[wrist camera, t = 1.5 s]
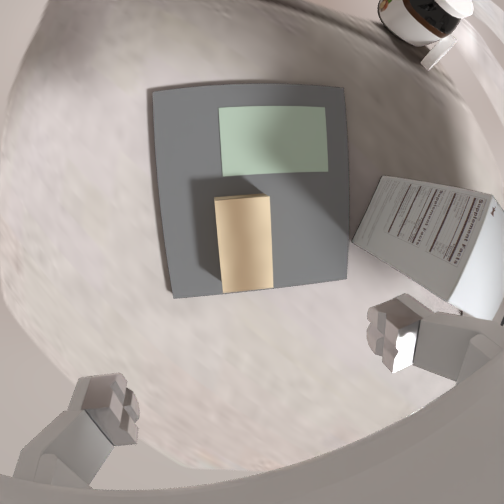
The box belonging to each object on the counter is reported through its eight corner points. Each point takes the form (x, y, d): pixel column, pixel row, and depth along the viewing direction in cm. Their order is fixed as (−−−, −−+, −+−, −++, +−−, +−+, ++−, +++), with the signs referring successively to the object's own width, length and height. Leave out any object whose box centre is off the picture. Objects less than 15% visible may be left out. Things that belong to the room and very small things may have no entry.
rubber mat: (340, 89, 28) (344, 87, 27) (343, 276, 35) (346, 279, 34) (154, 94, 26) (152, 91, 25) (174, 294, 32) (173, 299, 31)
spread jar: (382, -16, 24) (428, -51, 13) (442, 28, 26) (494, 9, 15) (364, 37, 26) (420, 2, 15) (431, 84, 29) (493, 71, 18)
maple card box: (263, 193, 30) (269, 196, 27) (267, 276, 32) (273, 287, 29) (214, 197, 29) (214, 200, 26) (221, 281, 32) (223, 293, 29)
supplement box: (349, 242, 34) (443, 303, 18) (381, 173, 32) (491, 190, 16) (401, 269, 36) (490, 328, 20) (430, 208, 34) (529, 241, 18)
